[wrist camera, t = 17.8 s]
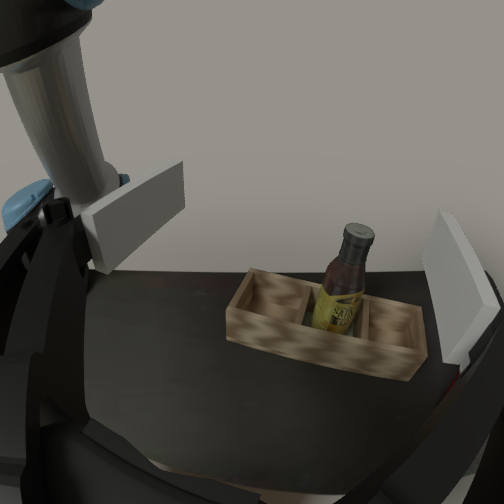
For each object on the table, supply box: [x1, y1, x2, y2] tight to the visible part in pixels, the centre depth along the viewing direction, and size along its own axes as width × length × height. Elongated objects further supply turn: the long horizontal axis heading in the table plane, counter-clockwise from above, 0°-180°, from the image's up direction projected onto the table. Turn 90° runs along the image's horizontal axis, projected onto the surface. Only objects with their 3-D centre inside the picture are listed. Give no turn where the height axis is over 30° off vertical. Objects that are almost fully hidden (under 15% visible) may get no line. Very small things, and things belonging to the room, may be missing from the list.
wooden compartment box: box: [226, 268, 428, 382], centre depth 44 cm, size 31×11×7 cm, turn 71°
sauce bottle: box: [310, 223, 375, 335], centre depth 40 cm, size 7×6×20 cm
